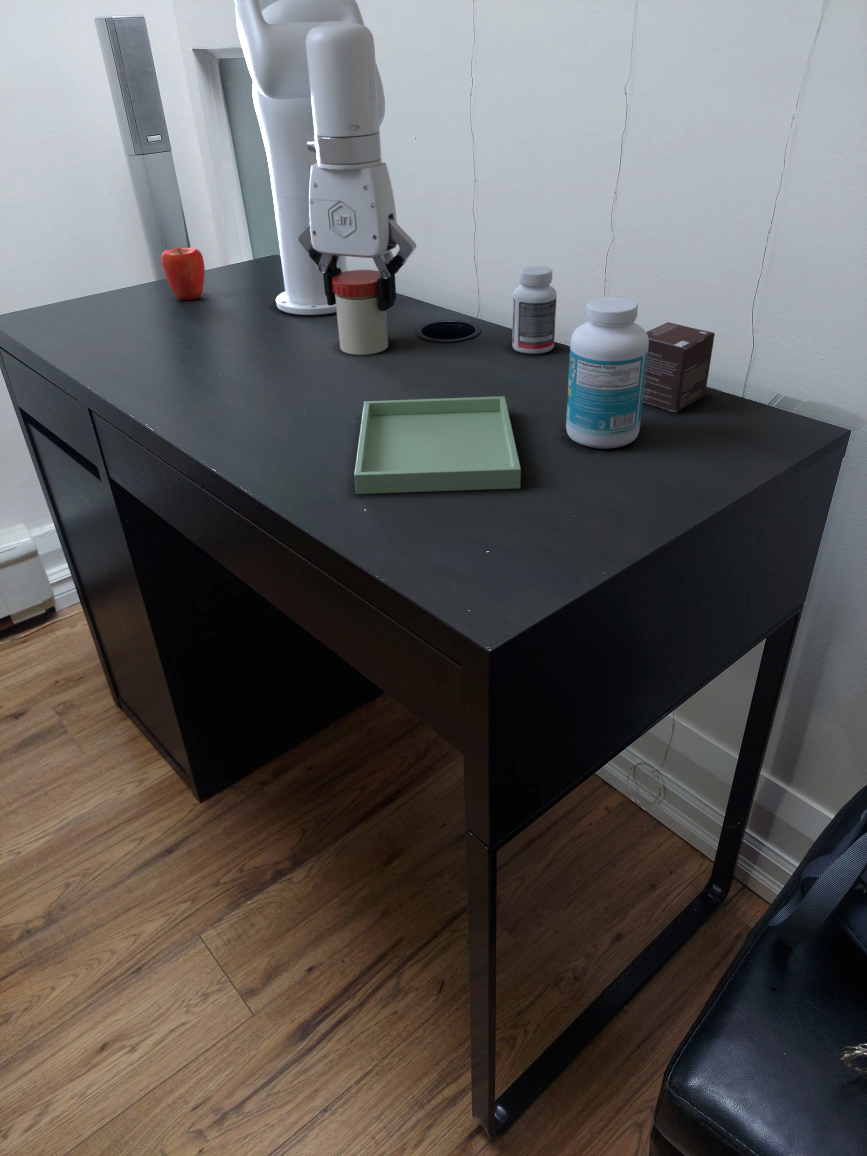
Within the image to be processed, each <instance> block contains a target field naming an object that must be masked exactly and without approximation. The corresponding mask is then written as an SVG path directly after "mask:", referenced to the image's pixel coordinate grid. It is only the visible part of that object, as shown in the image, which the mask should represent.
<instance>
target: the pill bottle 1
mask: <svg viewBox="0 0 867 1156" xmlns="http://www.w3.org/2000/svg"><path fill="white" fill-rule="evenodd" d="M552 281H553V269H552V268H550V267H547V266H541V265H538V266H537V265H536V266H526V267H523V268H521V269H520V270H519V280H518V282H519V284H520V285H519V286H517V287H516V288H515V289H514V291H513V295H512V339H511V340H512V348H513V350H514V351H516V352H518V353H522V354H528V355H541V354H545V353H548V352H550V351H552V350H553V349H554V347H555V337H556V335H555V334H556V315H557V299H558V297H557V296H558V295H557V290H556V288H554V287H553V286H551V284H552Z"/></svg>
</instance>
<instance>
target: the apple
mask: <svg viewBox="0 0 867 1156" xmlns="http://www.w3.org/2000/svg"><path fill="white" fill-rule="evenodd" d="M161 265H162V266H161V267H162V269H163V272H164V276H165V278H166V281H167V283H168V285H169V287H170V289H171V291H172V293H173V295H174V296H175V297H176V298H177V299H178V300H180V301H181V300H182V301H190V300H192V301H193V300H196V299H199V298H200V297H201V295H202V294H203V291H204V285H205V284H204V283H205V275H206V273H205V272H206V271H205V269H206V268H205V267H206V266H205V261H204V257H203V254H202V252H201V251H200V250H199V249H198V248H195V247H175V248H169V249H165V250H164V251H163V252H162V253H161Z"/></svg>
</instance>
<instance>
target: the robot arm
mask: <svg viewBox="0 0 867 1156" xmlns="http://www.w3.org/2000/svg"><path fill="white" fill-rule="evenodd" d="M234 4H235V21H236V28H237V32H238V38H239V41H240V45H241V48H242V52H243V56H244V59H245V62H246V65H247V69H248V71H249V74H250V77H251V79H252V100H253V105H254V109H255V110H254V111H255V113H256V114H255V115H256V117H257V121H258V124H259V128H260V133H261V136H262V141H263V145H264V148H265V152H266V153H265V154H266V157H267V163H268V172H269V177H270V186H271V192H272V199H273V206H274V215H275V222H276V230H277V231H276V232H277V238H278V245H279V246H278V247H279V253H280V261H281V268H282V269H281V270H282V276H283V284H284V285H283V286H284V291H282V292H281V293H279V294H278V295H277V296H276V298H275V304H276V308H277V309H278V310H280V311H282V312H283V313H287V314H292V315H297V316H298V315H300V316H320V315H329V314H330V315H331V314H337V311H336V301H335V293H334V292H333V289H332V277H333V276H335V275H336V274H339V273H342V272H346V271H348V264H347V257H353V258H366V259H372V260H373V262H374V264H375V267H376V268H377V271H379V273H380V278H378V279H377V292H378V307H379V310H380V311H386V312H387V310H389V309H390V308H392V307H394V305H395V302H396V300H397V287H396V274H397V273H398V272H399V270H400V269H401V268H402V267H403V266H404V265H405V264H406V263H407V261H408V259H409V258H410V257H411V255H412V254H413V253H414V251H415V250H416V249H417V243H416V242H415V241H414V239H413V238H412V237H410V236H409V234H408V233H407V232H405V230H404V229H403V228H402V227H401V226H400V225H399V224H398V221H397V211H396V204H395V196H394V191H393V186H392V180H391V177H390V173H389V168H388V165H387V163H386V162H383V161H382V146H381V132H380V131H381V130H380V129H381V128H380V127H381V125H382V124H383V121H384V119H385V113H386V99H385V91H384V87H383V81H382V77H381V74H380V71H379V67H378V65H377V61H376V48H375V37H374V35H373V33H372V31H371V30H370V29H369V28H368V27H367V26H366V25H365V22H364V19H363V15H362V13H361V9H360V7H359V4H358V2H357V0H234ZM397 246H398V248H399V249H398V251H397V253H396V255H394V254H393V252H392V250H394V249H395V248H396V247H397Z"/></svg>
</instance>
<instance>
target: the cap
mask: <svg viewBox="0 0 867 1156" xmlns="http://www.w3.org/2000/svg"><path fill="white" fill-rule="evenodd" d="M378 278H380V273H379V271H378V270H375V269H353V270H347V271H346V272H342V273H339V274H336V275H335V276H333V277H332V289H333V292H334V293H335V294H336V295H339V296H343V297H351V298H359V297H369V296H374V295H378V292H377V279H378Z"/></svg>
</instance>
